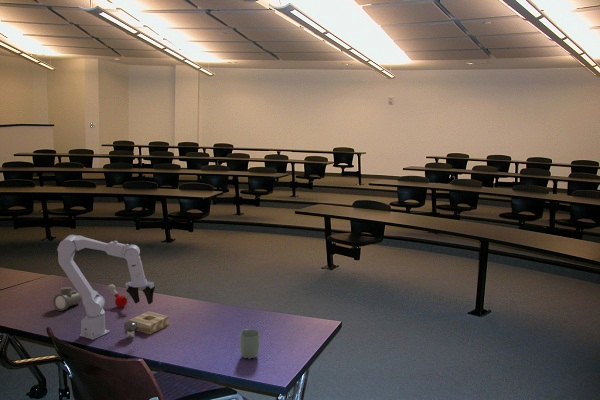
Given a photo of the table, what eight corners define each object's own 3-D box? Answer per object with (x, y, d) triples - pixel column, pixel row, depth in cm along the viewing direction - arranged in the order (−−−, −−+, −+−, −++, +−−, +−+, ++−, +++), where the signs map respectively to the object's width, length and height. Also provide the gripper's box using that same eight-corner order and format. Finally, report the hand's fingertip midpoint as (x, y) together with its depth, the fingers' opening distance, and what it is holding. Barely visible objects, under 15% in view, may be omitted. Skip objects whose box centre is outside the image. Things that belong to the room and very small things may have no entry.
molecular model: (138, 308, 257) (138, 288, 255) (130, 312, 252) (129, 292, 250) (112, 301, 265) (112, 282, 263) (103, 305, 260) (103, 285, 259)
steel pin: (131, 340, 222) (130, 327, 221) (121, 337, 224) (121, 324, 223) (140, 335, 227) (140, 322, 226) (131, 333, 229) (130, 320, 228)
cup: (259, 352, 215) (260, 329, 213) (258, 361, 207) (259, 337, 205) (240, 352, 215) (240, 328, 213) (238, 361, 207) (239, 337, 205)
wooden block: (150, 334, 229) (149, 325, 228) (129, 328, 234) (129, 319, 233) (168, 324, 239) (168, 316, 238) (148, 319, 244) (148, 311, 244)
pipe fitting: (65, 311, 249) (65, 290, 249) (52, 310, 252) (52, 289, 252) (84, 306, 260) (84, 285, 260) (71, 305, 263) (71, 284, 263)
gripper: (156, 269, 226) (163, 299, 229) (131, 269, 233) (137, 298, 235) (144, 276, 220) (151, 306, 222) (119, 275, 227) (126, 305, 229)
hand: (143, 302), depth 228 cm, fingers open, 7 cm apart
